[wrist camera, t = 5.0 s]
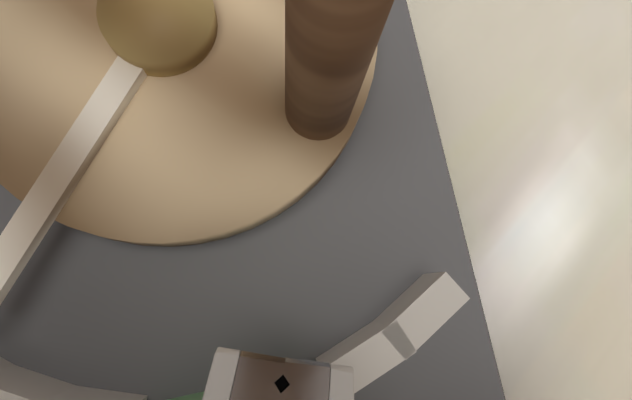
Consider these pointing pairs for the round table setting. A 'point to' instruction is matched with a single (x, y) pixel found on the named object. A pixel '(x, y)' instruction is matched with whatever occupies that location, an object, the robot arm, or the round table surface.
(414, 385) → the dial board
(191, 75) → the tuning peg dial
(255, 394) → the robot arm
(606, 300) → the round table surface
